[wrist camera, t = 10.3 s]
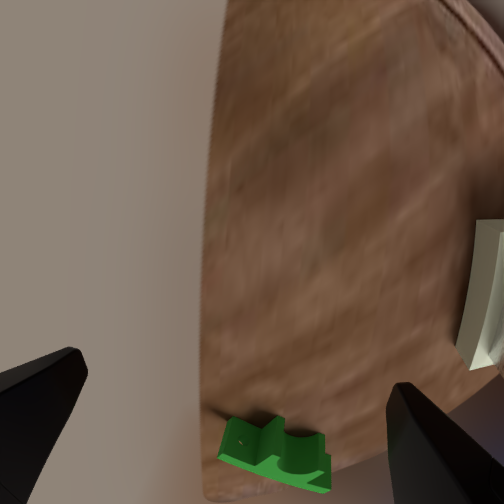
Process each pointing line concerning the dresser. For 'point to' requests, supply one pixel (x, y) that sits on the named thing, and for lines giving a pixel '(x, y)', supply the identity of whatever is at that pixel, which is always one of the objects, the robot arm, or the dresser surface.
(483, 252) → the sage stand
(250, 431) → the pipe clamp
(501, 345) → the grey-blue rectangular block
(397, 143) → the dresser surface
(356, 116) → the dresser surface
